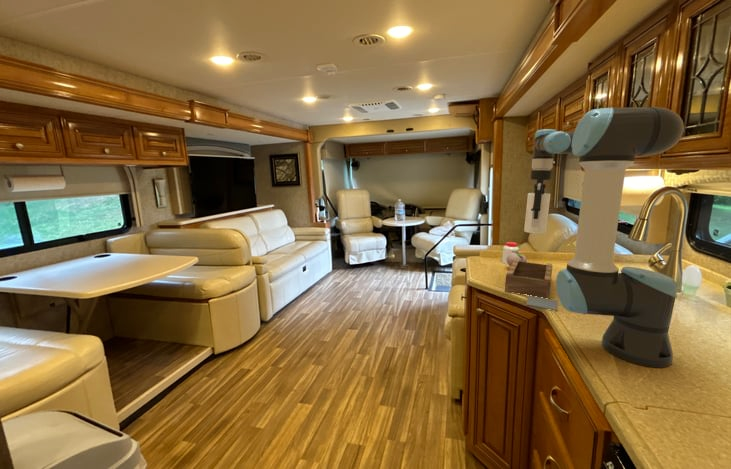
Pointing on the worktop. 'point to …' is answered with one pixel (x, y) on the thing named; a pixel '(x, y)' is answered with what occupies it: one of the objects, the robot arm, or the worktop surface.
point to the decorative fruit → (515, 257)
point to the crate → (529, 278)
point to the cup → (543, 214)
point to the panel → (542, 303)
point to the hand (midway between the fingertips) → (535, 225)
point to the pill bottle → (508, 250)
